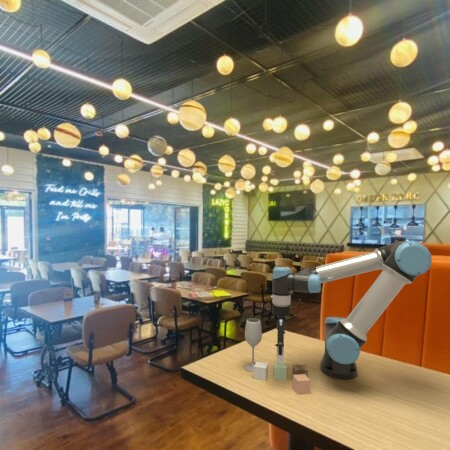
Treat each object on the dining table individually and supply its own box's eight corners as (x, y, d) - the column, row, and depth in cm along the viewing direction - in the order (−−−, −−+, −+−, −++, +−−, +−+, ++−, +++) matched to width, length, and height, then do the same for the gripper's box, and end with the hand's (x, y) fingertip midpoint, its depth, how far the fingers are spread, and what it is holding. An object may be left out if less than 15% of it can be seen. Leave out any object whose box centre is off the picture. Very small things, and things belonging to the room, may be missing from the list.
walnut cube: (304, 376, 127) (304, 364, 128) (307, 382, 122) (307, 370, 123) (292, 376, 128) (292, 364, 128) (295, 382, 123) (295, 369, 123)
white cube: (267, 375, 128) (267, 363, 128) (265, 380, 123) (265, 368, 123) (256, 373, 130) (256, 361, 130) (253, 378, 125) (253, 366, 125)
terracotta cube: (304, 386, 119) (304, 374, 119) (310, 393, 114) (310, 380, 114) (292, 387, 118) (292, 374, 118) (297, 394, 113) (297, 381, 113)
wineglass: (260, 372, 130) (261, 323, 130) (243, 370, 132) (243, 322, 132) (262, 364, 138) (262, 318, 138) (245, 363, 139) (246, 317, 139)
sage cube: (286, 375, 128) (286, 363, 129) (286, 380, 124) (286, 368, 124) (274, 373, 129) (274, 362, 129) (274, 379, 125) (274, 367, 125)
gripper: (272, 297, 140) (272, 343, 140) (270, 311, 115) (269, 367, 115) (289, 298, 139) (288, 345, 138) (291, 313, 114) (290, 369, 114)
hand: (280, 355), depth 127 cm, fingers open, 13 cm apart
